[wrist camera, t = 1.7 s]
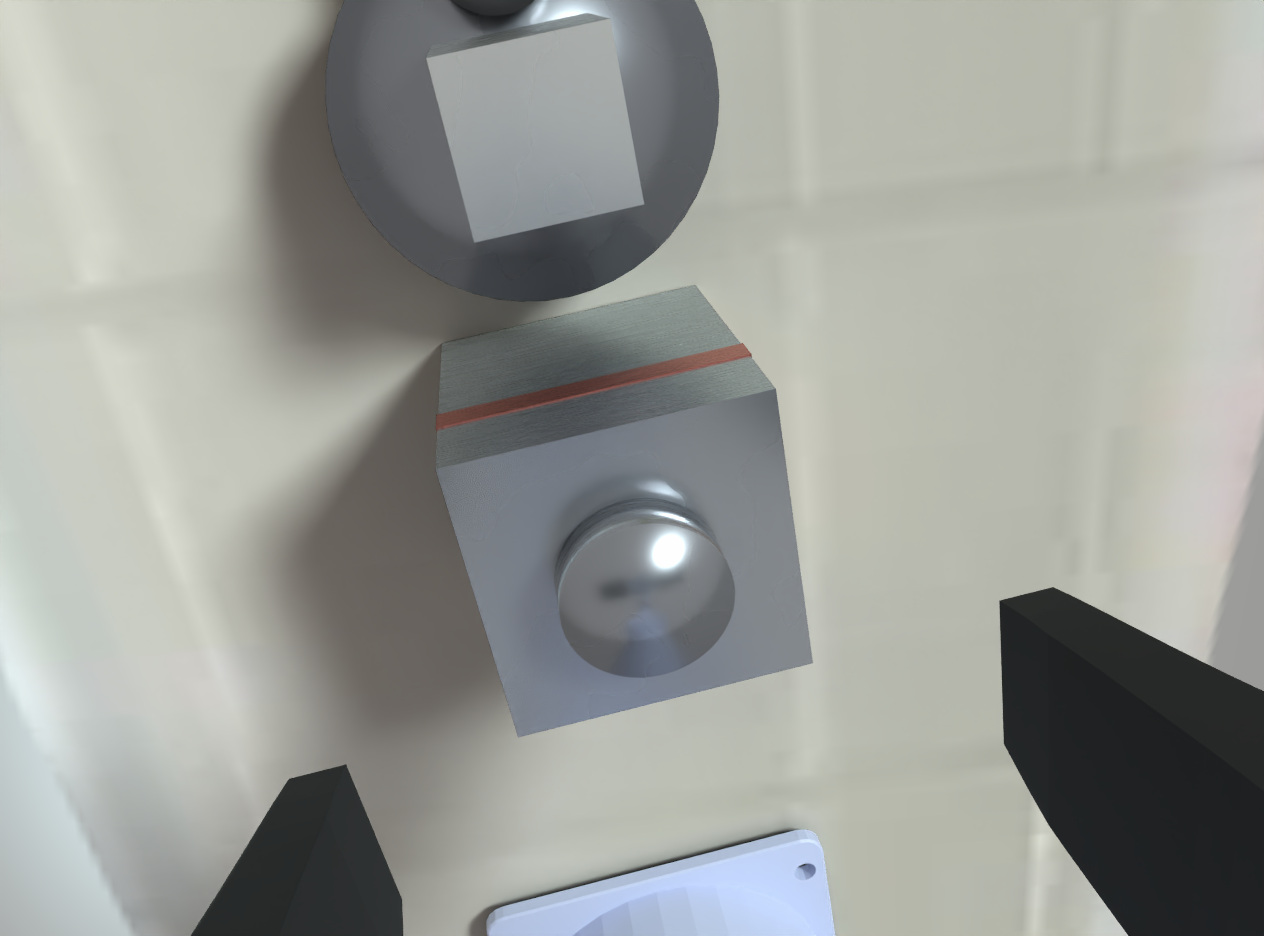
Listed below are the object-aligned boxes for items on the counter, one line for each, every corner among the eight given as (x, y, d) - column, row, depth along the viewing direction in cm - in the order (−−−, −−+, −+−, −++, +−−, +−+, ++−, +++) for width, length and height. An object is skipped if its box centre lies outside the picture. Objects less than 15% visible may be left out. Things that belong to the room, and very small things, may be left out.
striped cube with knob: (733, 507, 20) (831, 696, 15) (504, 563, 20) (520, 775, 15) (696, 283, 18) (794, 409, 13) (439, 343, 18) (432, 495, 13)
